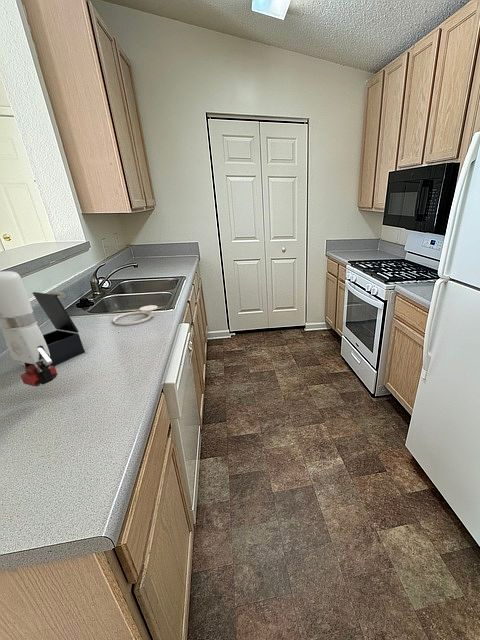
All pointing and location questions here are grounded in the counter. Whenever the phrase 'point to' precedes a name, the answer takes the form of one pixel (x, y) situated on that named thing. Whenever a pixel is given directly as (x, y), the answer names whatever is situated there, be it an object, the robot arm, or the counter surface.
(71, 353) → the open lidded box
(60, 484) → the counter surface
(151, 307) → the hand towel holder
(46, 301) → the box lid
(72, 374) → the counter surface
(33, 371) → the toy car
